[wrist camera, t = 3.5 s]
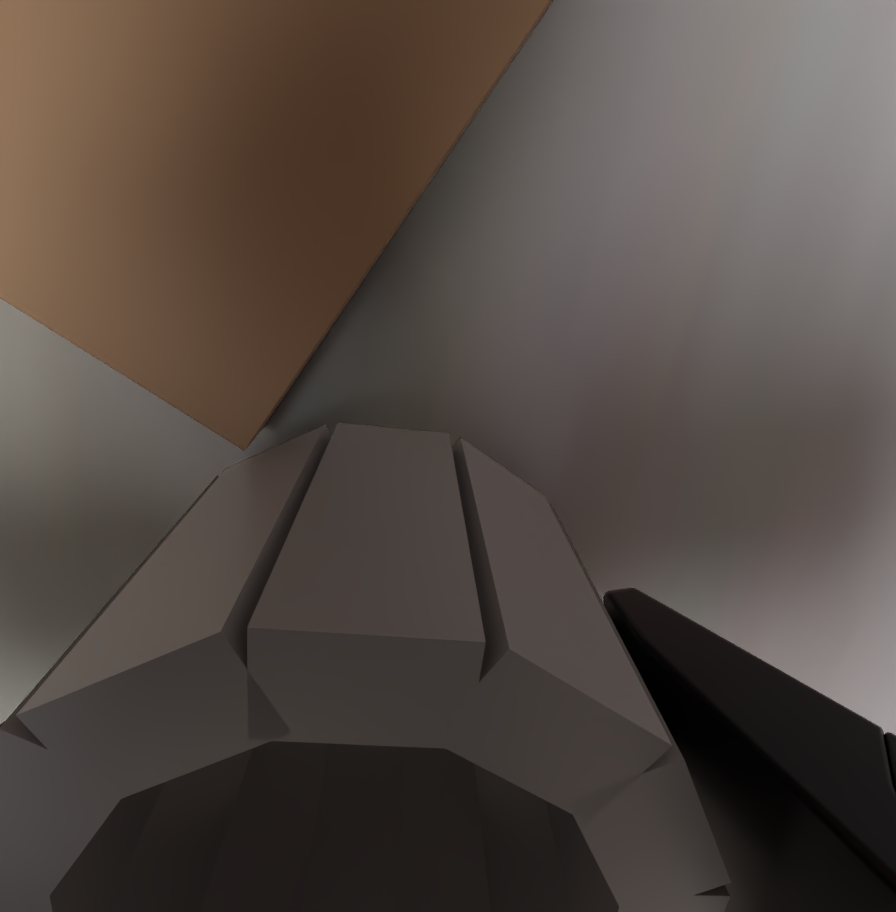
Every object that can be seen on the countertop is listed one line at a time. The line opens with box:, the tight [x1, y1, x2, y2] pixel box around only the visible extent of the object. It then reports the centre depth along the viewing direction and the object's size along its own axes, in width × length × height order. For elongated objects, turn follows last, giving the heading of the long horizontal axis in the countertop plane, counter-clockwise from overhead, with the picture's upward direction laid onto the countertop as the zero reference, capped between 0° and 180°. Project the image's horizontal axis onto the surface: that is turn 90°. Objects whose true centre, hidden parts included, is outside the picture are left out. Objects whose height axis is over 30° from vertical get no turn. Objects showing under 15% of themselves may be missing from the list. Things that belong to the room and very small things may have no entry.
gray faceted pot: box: [0, 423, 731, 912], centre depth 7 cm, size 6×7×5 cm
